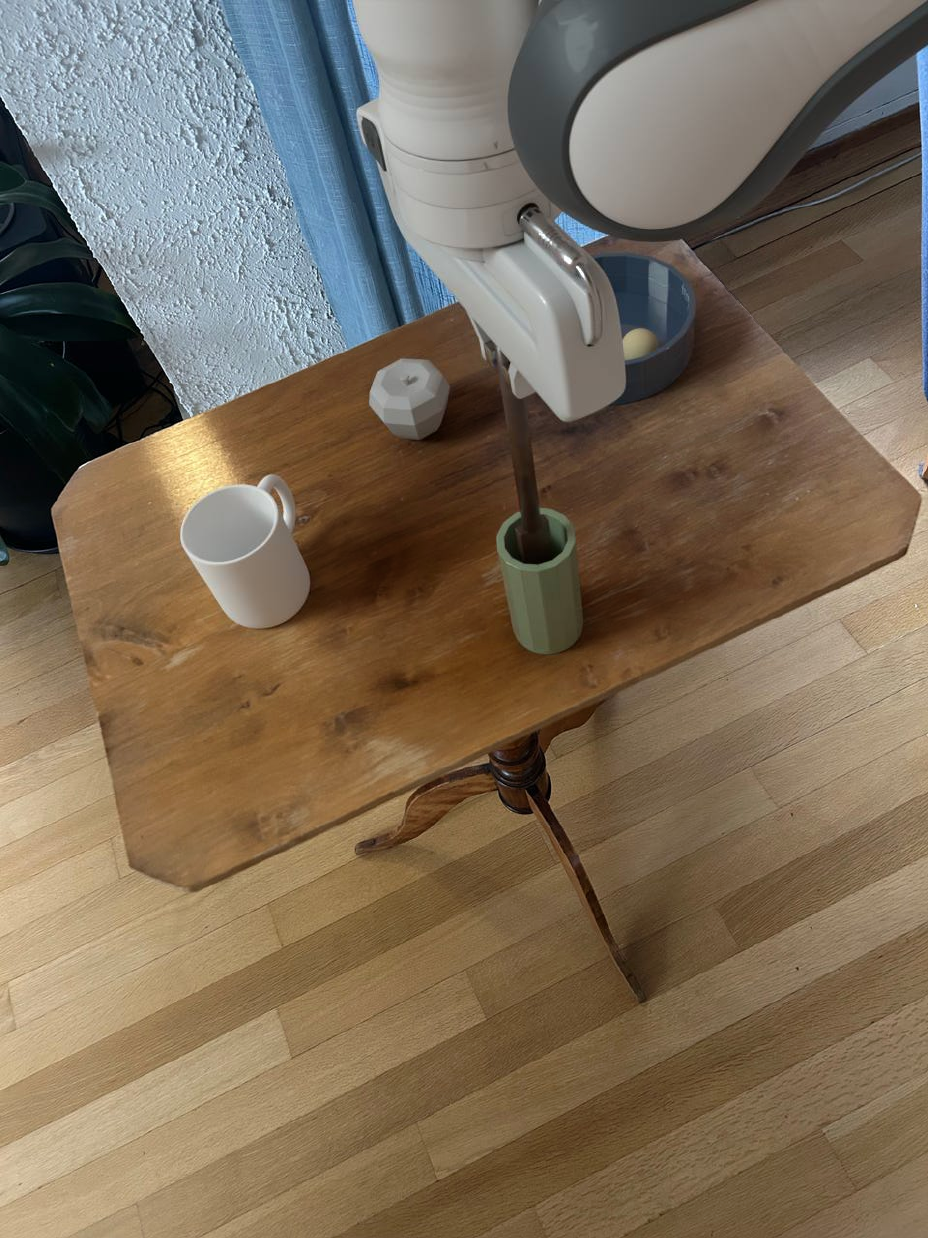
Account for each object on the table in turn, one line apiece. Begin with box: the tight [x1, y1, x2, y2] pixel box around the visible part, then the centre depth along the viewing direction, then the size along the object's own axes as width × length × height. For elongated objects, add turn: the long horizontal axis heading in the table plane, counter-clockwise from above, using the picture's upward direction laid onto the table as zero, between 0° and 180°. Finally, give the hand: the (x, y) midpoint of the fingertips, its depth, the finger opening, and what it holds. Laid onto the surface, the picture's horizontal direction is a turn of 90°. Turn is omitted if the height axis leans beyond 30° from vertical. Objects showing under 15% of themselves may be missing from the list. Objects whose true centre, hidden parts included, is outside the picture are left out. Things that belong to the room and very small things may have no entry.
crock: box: [495, 507, 584, 655], centre depth 78 cm, size 6×6×12 cm
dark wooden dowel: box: [494, 343, 553, 565], centre depth 66 cm, size 2×1×24 cm, turn 118°
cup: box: [179, 473, 311, 630], centre depth 86 cm, size 8×12×10 cm
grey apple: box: [368, 357, 451, 441], centre depth 95 cm, size 8×8×7 cm
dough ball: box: [622, 328, 658, 361], centre depth 95 cm, size 4×4×4 cm
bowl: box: [590, 251, 697, 406], centre depth 97 cm, size 16×16×5 cm
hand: (512, 374), depth 59 cm, fingers closed on dark wooden dowel, 1 cm apart
